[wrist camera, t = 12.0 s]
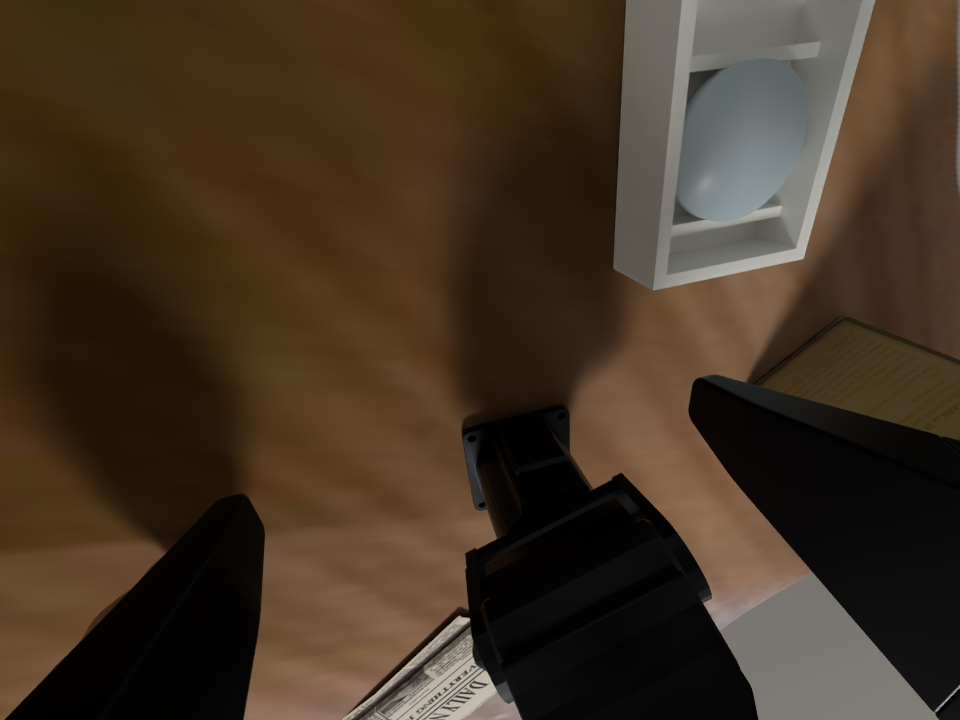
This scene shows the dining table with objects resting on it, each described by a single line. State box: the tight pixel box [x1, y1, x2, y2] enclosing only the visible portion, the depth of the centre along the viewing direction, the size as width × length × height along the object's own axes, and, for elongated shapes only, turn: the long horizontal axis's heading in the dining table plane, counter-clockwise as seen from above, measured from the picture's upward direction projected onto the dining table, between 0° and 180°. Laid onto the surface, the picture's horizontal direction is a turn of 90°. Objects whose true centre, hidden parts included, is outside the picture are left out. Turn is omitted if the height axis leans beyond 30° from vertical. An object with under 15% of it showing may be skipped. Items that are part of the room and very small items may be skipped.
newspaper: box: [343, 615, 497, 720], centre depth 38 cm, size 23×12×2 cm, turn 134°
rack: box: [613, 0, 875, 291], centre depth 16 cm, size 19×8×4 cm, turn 7°
